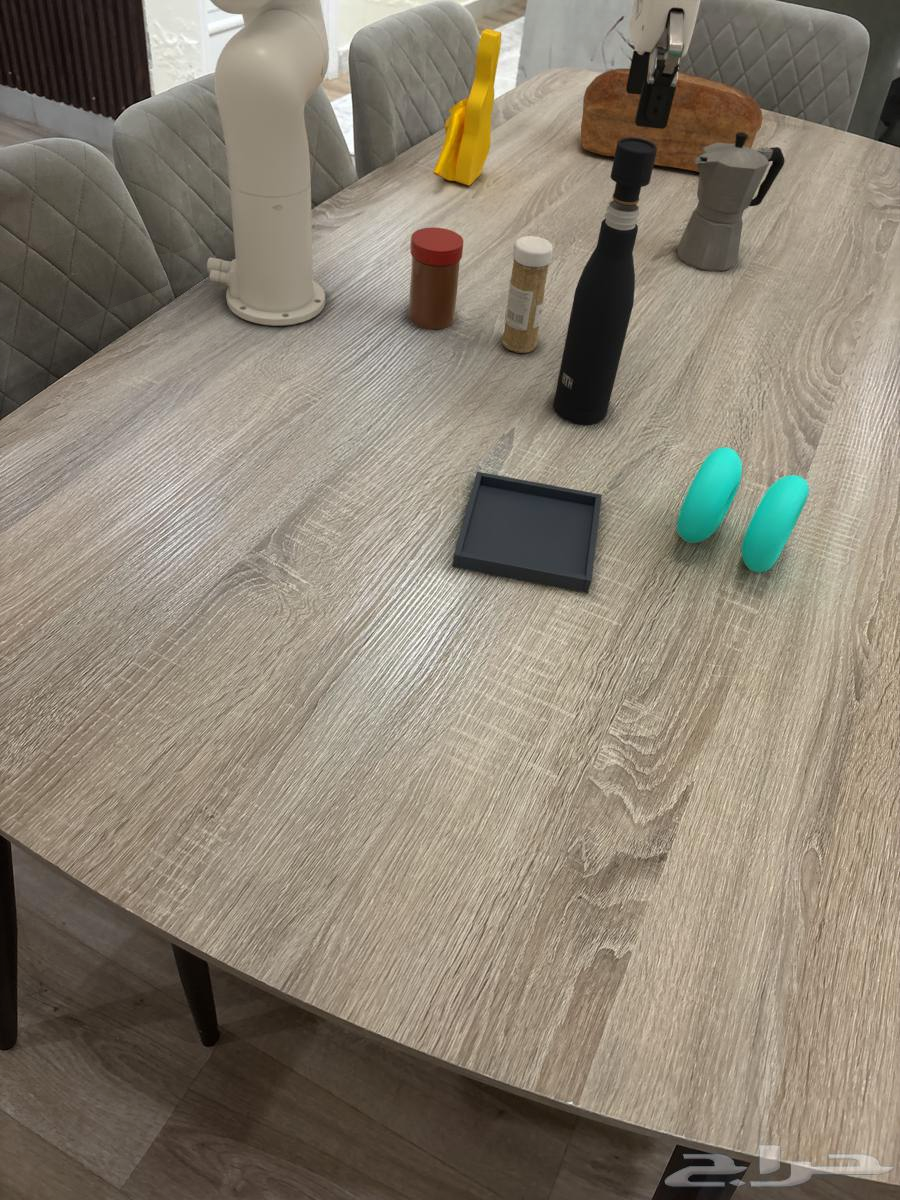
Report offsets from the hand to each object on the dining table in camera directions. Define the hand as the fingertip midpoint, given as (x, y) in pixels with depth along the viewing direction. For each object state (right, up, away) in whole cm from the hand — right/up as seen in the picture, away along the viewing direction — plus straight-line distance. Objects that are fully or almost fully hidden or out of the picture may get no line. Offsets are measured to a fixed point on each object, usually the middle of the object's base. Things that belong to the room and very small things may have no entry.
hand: (644, 109), depth 98 cm
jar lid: (-22, -7, +17) cm, 29 cm away
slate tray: (-13, -45, -4) cm, 47 cm away
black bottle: (-5, -29, +12) cm, 32 cm away
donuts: (+8, -46, -3) cm, 47 cm away
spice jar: (-12, -19, +21) cm, 31 cm away
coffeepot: (+19, 0, +44) cm, 48 cm away
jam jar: (-23, -15, +24) cm, 36 cm away
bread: (+17, +28, +70) cm, 78 cm away
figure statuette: (-18, +18, +57) cm, 62 cm away
